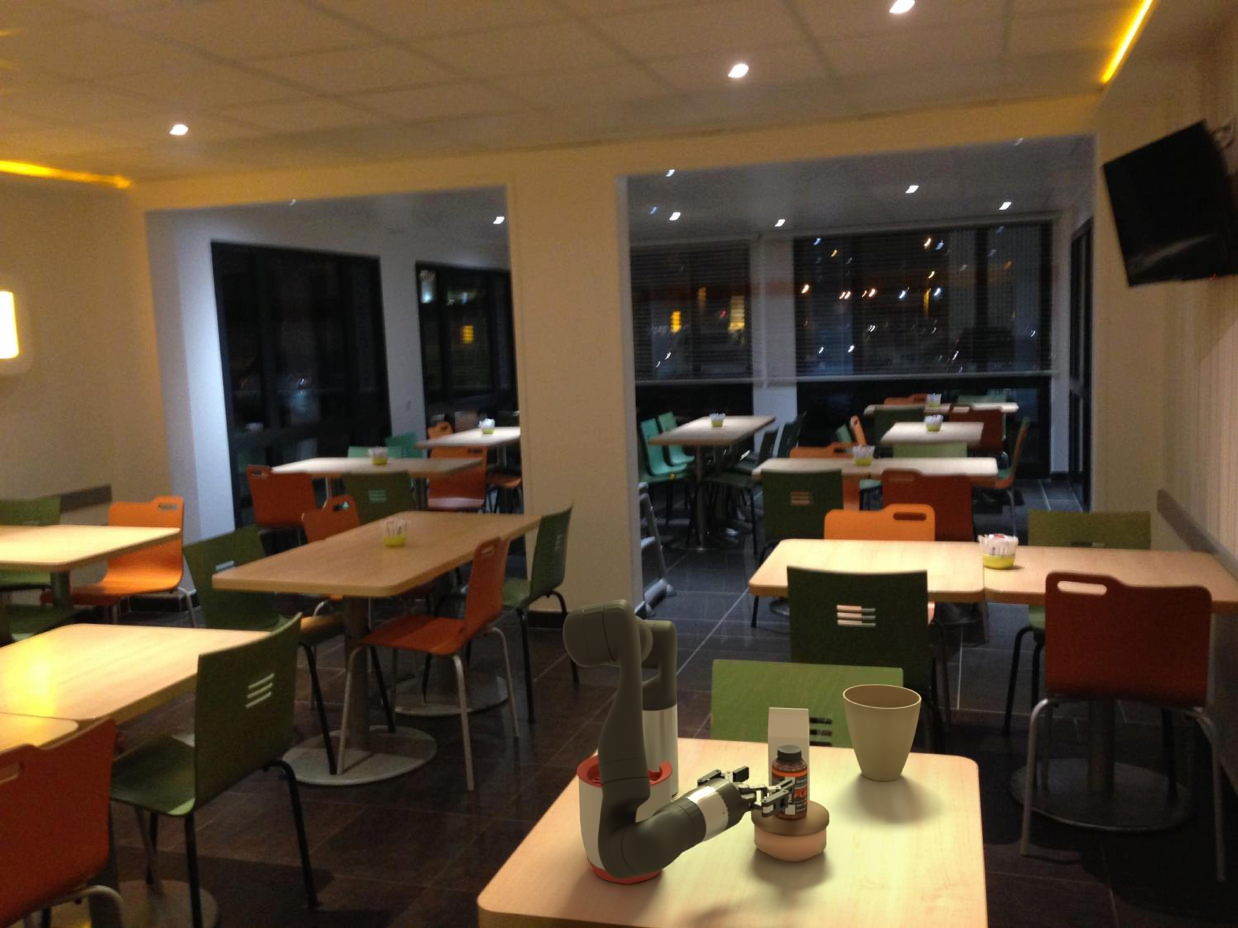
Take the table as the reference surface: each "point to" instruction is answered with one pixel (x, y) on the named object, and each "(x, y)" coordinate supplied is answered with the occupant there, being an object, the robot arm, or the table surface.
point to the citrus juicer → (592, 806)
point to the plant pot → (881, 727)
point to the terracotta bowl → (790, 845)
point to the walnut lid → (794, 822)
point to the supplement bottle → (795, 770)
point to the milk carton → (788, 736)
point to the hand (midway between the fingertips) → (768, 778)
